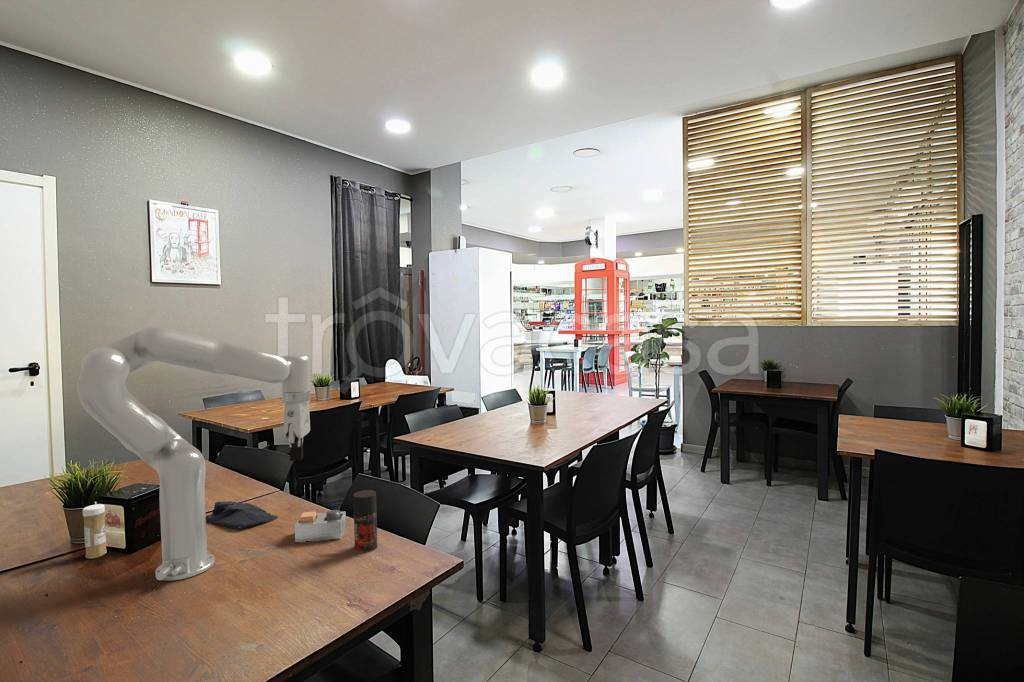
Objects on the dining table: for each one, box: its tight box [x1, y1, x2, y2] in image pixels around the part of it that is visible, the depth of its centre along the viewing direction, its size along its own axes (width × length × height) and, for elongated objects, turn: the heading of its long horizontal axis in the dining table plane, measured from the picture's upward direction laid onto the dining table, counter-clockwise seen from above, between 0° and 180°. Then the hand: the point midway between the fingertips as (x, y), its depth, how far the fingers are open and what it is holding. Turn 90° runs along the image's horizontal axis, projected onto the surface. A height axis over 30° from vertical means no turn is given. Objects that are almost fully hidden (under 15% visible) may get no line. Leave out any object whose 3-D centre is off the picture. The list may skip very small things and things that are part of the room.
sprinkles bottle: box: [82, 503, 108, 560], centre depth 134 cm, size 5×5×13 cm
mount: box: [294, 511, 347, 543], centre depth 144 cm, size 8×12×6 cm, turn 99°
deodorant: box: [352, 489, 378, 554], centre depth 136 cm, size 6×6×15 cm
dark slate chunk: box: [206, 501, 278, 530], centre depth 158 cm, size 15×22×5 cm
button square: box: [299, 510, 317, 523], centre depth 144 cm, size 4×4×5 cm
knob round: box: [325, 509, 341, 521], centre depth 145 cm, size 4×4×5 cm
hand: (296, 459), depth 145 cm, fingers closed
